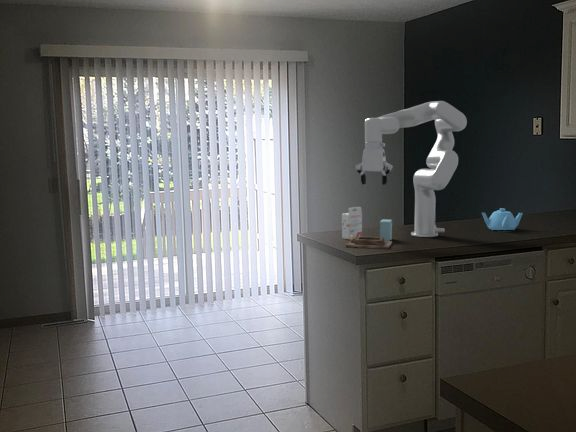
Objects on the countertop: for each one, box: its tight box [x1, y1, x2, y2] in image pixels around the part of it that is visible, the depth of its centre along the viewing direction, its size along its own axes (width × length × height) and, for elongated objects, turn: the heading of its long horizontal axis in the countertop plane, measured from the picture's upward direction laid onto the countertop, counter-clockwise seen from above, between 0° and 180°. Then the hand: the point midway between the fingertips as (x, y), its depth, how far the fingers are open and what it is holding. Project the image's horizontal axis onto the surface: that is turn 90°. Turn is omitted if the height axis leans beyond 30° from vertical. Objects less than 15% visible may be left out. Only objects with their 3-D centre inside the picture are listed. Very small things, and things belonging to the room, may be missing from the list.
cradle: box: [345, 235, 393, 250], centre depth 276 cm, size 18×14×4 cm
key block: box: [379, 218, 393, 241], centre depth 290 cm, size 4×8×9 cm, turn 164°
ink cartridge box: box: [341, 206, 363, 240], centre depth 296 cm, size 9×5×15 cm, turn 126°
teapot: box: [481, 207, 523, 231], centre depth 319 cm, size 15×15×11 cm
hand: (374, 184), depth 286 cm, fingers open, 9 cm apart
